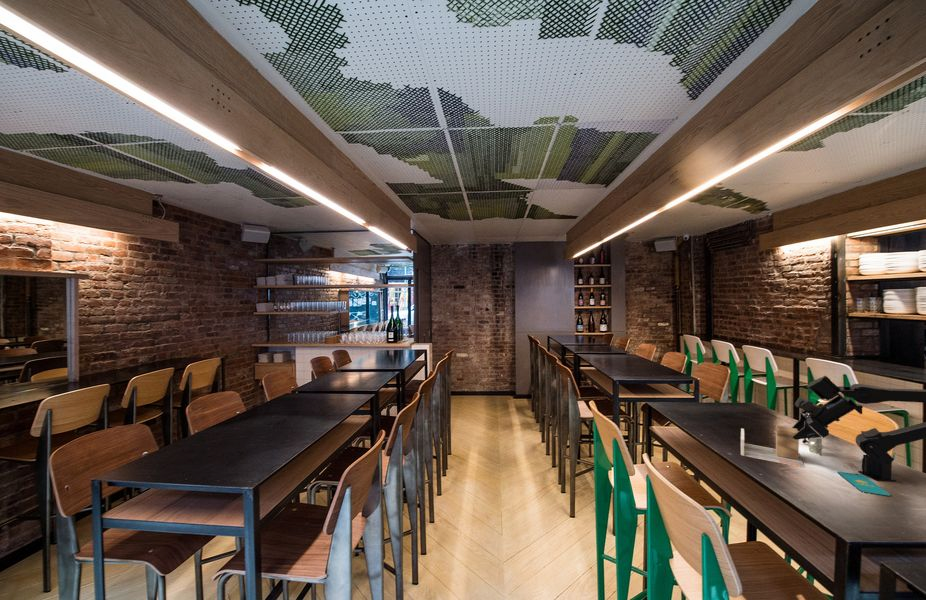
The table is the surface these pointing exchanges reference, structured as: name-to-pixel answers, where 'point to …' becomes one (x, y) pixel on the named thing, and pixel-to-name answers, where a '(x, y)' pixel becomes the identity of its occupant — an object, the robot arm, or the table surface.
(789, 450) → the tan wooden block
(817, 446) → the valve
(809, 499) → the table surface
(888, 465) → the robot arm
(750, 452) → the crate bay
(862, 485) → the smartphone
